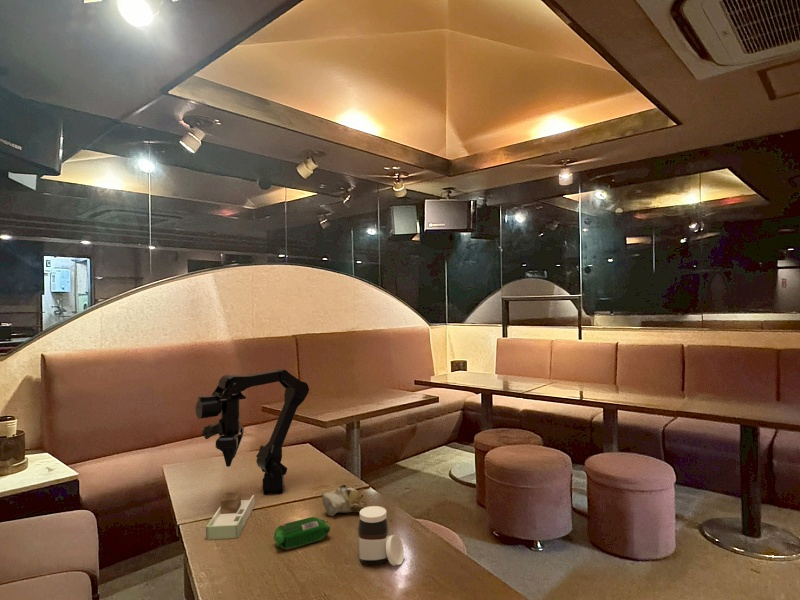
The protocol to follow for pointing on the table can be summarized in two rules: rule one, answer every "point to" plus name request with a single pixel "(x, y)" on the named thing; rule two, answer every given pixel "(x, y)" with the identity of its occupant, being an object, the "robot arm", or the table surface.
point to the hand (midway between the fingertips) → (230, 462)
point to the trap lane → (229, 522)
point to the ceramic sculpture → (343, 501)
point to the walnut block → (230, 503)
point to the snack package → (300, 532)
